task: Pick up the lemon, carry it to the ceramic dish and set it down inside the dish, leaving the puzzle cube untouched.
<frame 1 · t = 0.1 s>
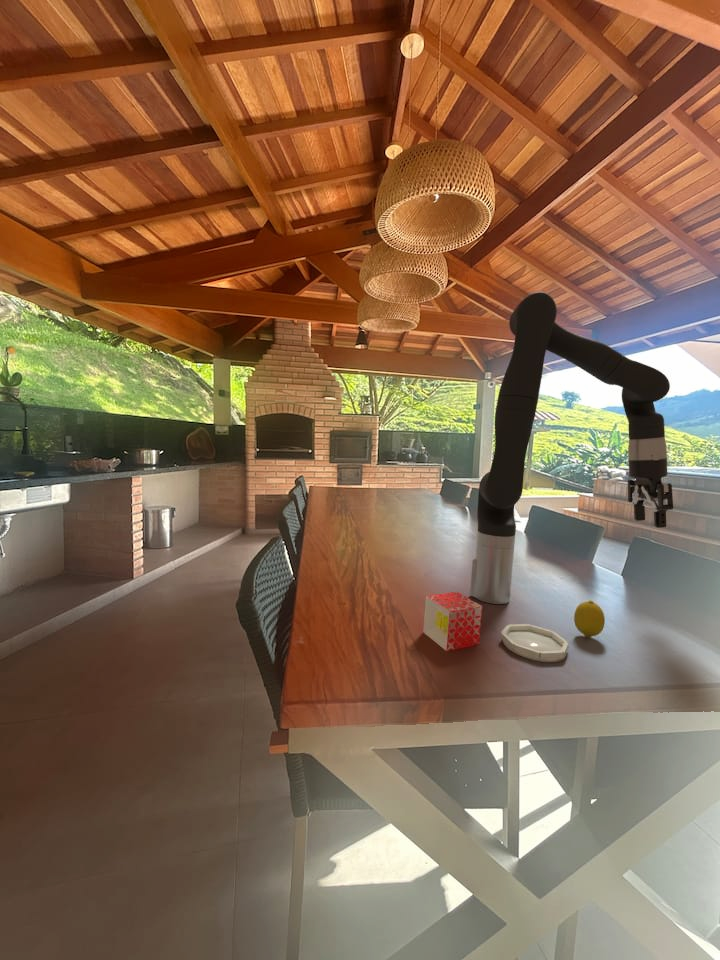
hand: (649, 523, 98), 22 cm above the table, tool pointing down, fingers open, 8 cm apart
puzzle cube: (450, 639, 81), on the table
dish: (533, 646, 79), on the table
lemon: (587, 638, 84), on the table
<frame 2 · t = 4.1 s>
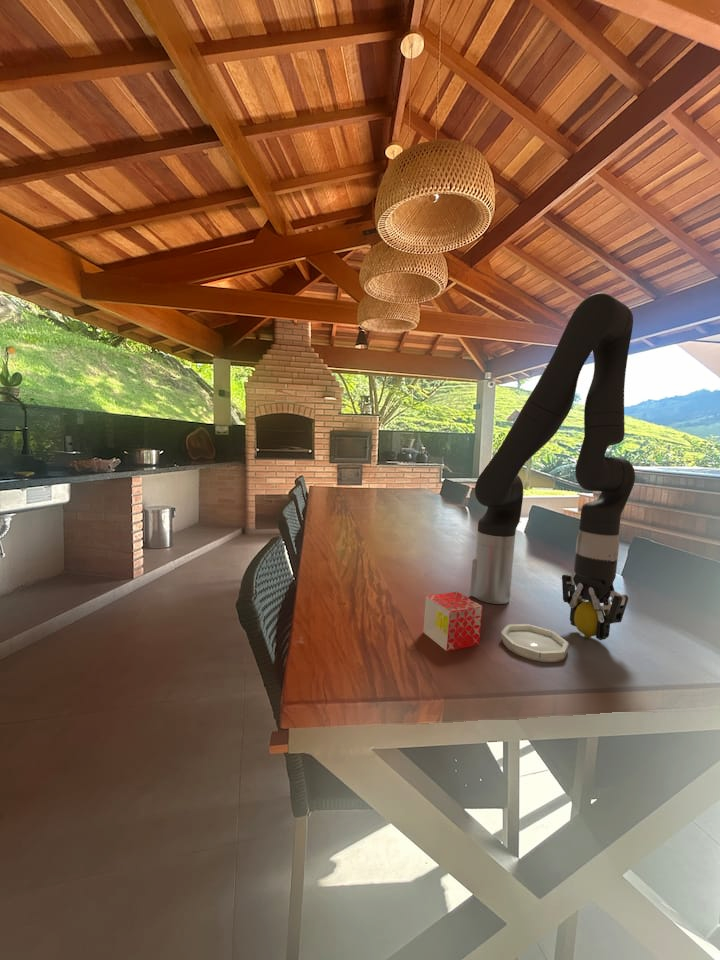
hand: (588, 631, 84), 1 cm above the table, tool pointing down, fingers closed on lemon, 5 cm apart
lemon: (587, 638, 84), on the table, touching gripper
everything else where it was.
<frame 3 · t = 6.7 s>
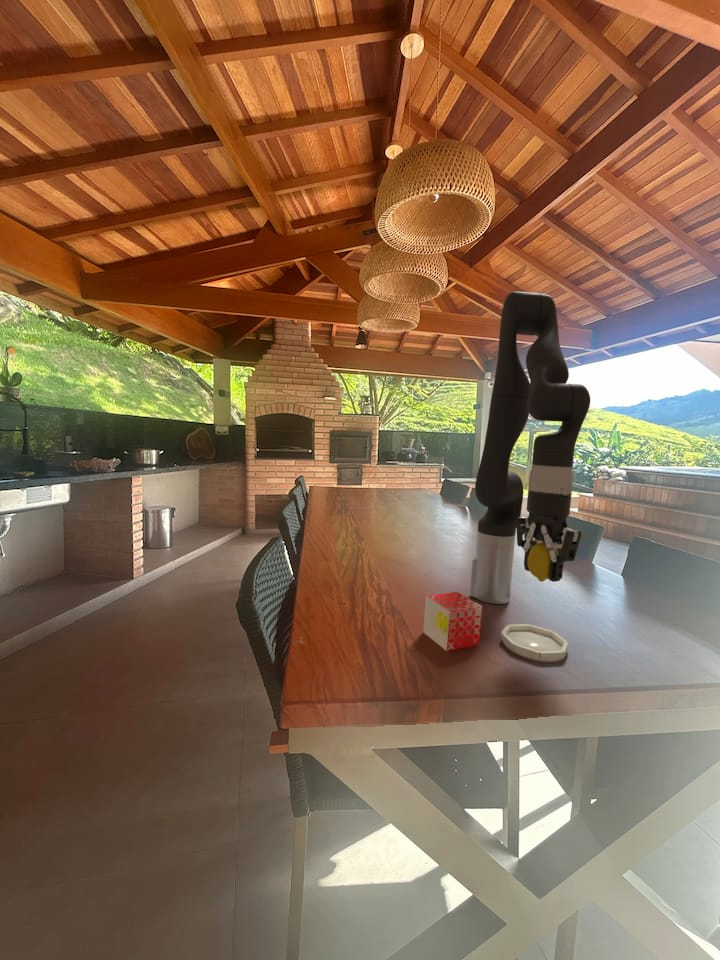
hand: (541, 575, 78), 15 cm above the table, tool pointing down, fingers closed on lemon, 5 cm apart
lemon: (541, 582, 78), point 13 cm above the table, touching gripper
everything else where it was.
when the fingers open (4 cm above the table, at t = 9.6 s): lemon drops 1 cm, resting on dish.
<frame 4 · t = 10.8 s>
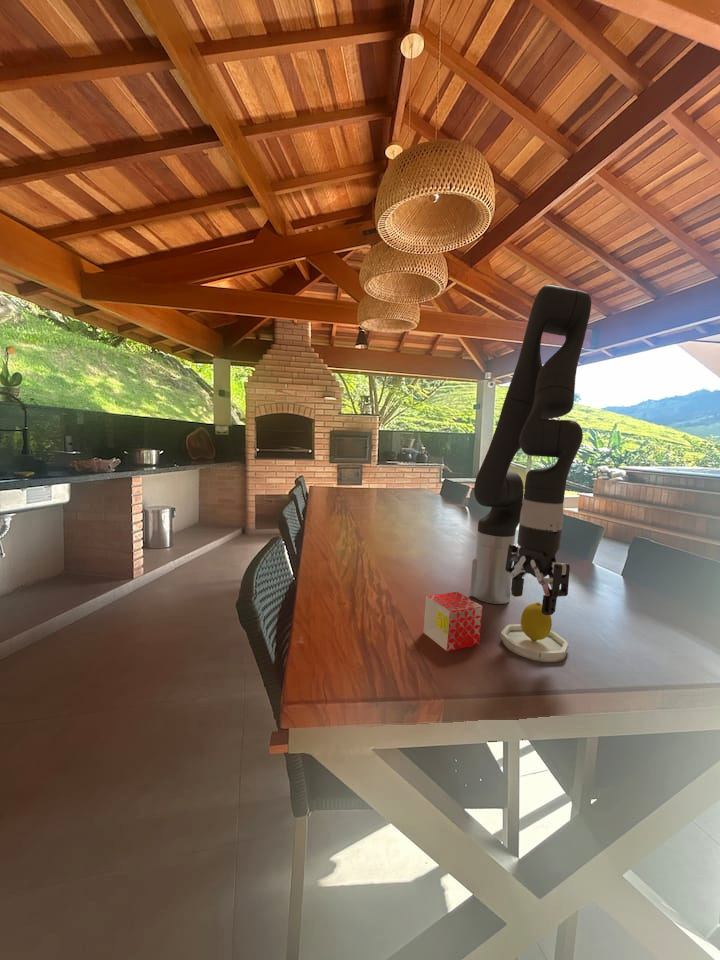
hand: (531, 604, 79), 8 cm above the table, tool pointing down, fingers open, 8 cm apart
lemon: (533, 642, 79), point 1 cm above the table, touching dish
everything else where it was.
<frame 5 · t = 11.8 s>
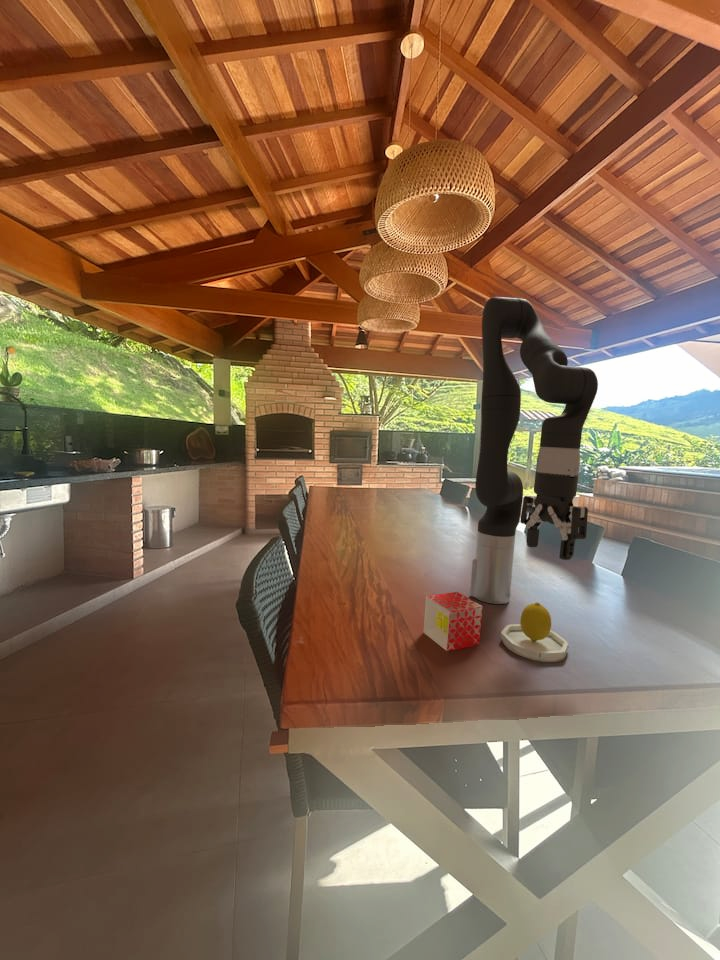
hand: (547, 552, 79), 19 cm above the table, tool pointing down, fingers open, 8 cm apart
nothing on the table moved.
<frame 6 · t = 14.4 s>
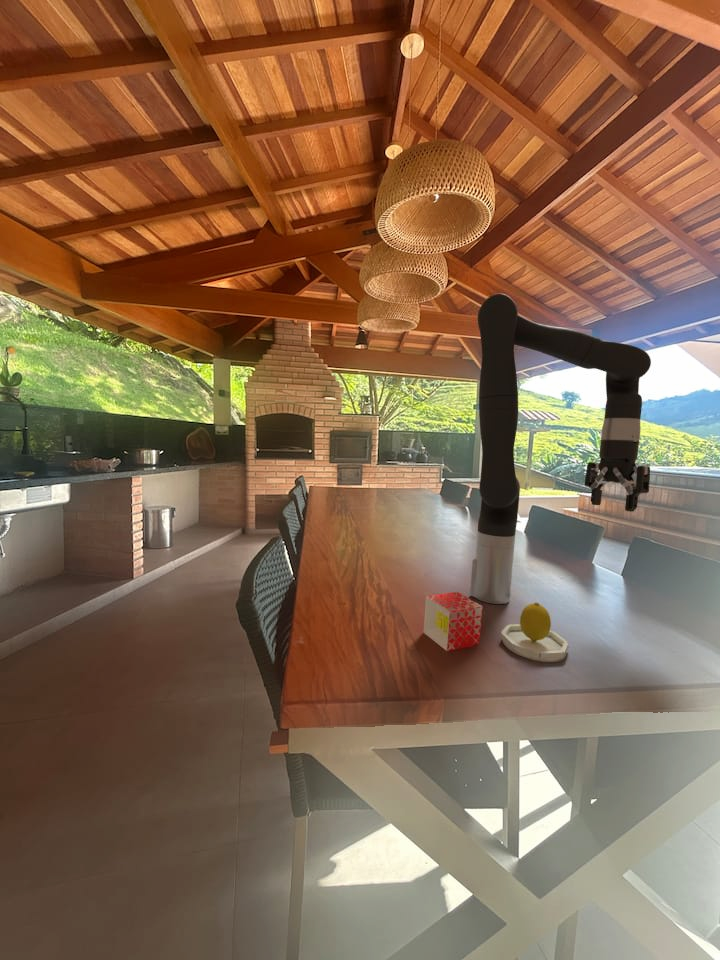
hand: (612, 508, 94), 26 cm above the table, tool pointing down, fingers open, 8 cm apart
nothing on the table moved.
at the end: lemon inside the target area on the dish (0.3 cm from its centre), point 0.6 cm above the dish's base; the gripper is holding nothing; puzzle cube moved 0.3 cm from its start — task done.
